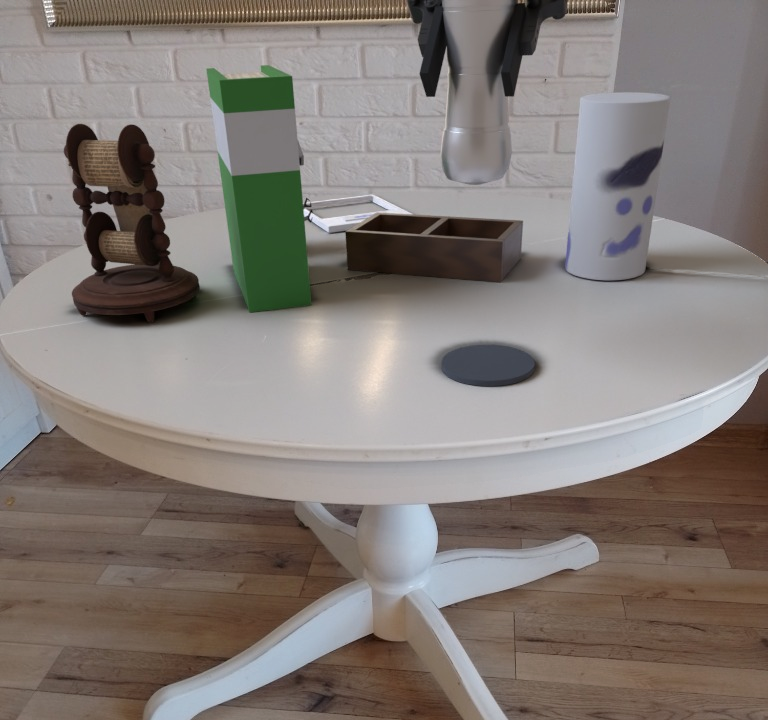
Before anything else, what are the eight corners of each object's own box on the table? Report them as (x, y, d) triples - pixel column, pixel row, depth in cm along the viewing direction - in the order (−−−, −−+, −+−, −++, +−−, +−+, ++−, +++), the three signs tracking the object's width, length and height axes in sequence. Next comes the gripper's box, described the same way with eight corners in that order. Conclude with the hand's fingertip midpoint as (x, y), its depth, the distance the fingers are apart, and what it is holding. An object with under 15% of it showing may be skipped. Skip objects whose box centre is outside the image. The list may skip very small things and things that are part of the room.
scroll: (223, 292, 100) (198, 115, 89) (157, 332, 88) (119, 136, 77) (125, 283, 104) (89, 114, 93) (50, 321, 93) (-1, 133, 82)
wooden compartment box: (521, 258, 108) (523, 220, 105) (500, 282, 99) (502, 241, 97) (377, 248, 115) (376, 212, 112) (347, 269, 106) (345, 231, 103)
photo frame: (328, 225, 122) (293, 202, 136) (328, 232, 123) (294, 209, 137) (414, 213, 126) (373, 193, 140) (414, 221, 127) (373, 199, 141)
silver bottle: (436, 191, 71) (437, -89, 60) (443, 176, 76) (444, -83, 66) (509, 190, 70) (523, -94, 59) (510, 175, 76) (523, -87, 65)
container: (608, 287, 96) (631, 103, 86) (548, 269, 103) (562, 96, 92) (661, 270, 101) (689, 94, 90) (600, 254, 108) (619, 89, 97)
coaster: (543, 355, 79) (543, 349, 79) (522, 391, 72) (523, 385, 72) (456, 345, 82) (456, 340, 82) (428, 379, 75) (428, 373, 75)
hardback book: (233, 271, 107) (206, 68, 94) (287, 265, 109) (268, 65, 96) (249, 312, 93) (219, 80, 80) (311, 305, 94) (292, 76, 81)
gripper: (629, -113, 70) (585, 116, 66) (423, -97, 76) (371, 115, 72) (632, -204, 63) (582, 47, 59) (404, -178, 69) (345, 52, 65)
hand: (466, 84), depth 66 cm, fingers closed on silver bottle, 6 cm apart
